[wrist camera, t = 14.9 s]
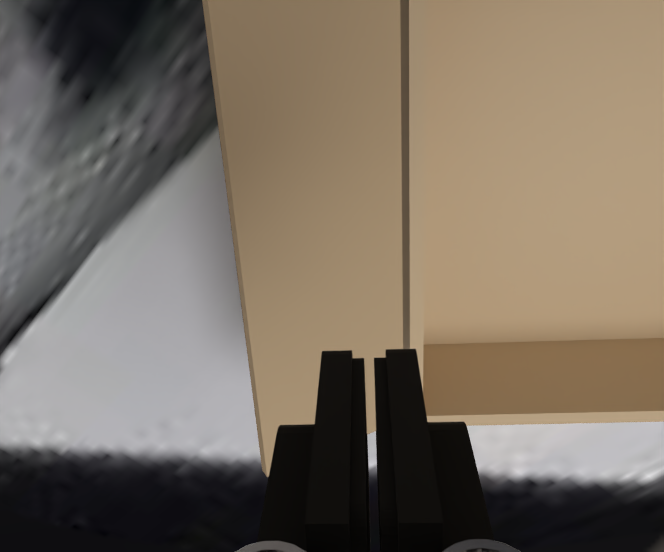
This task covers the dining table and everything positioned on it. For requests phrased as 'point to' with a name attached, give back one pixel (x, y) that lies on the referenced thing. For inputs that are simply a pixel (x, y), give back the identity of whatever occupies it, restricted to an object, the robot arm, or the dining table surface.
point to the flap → (311, 189)
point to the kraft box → (534, 208)
